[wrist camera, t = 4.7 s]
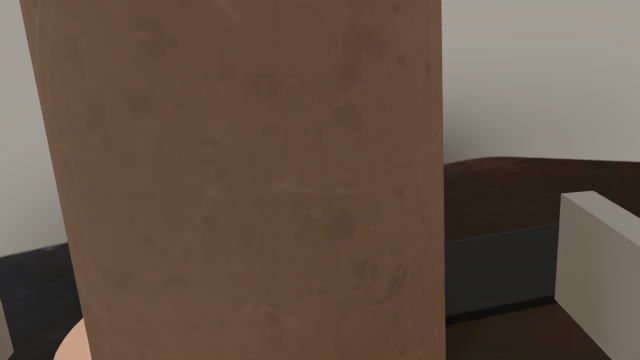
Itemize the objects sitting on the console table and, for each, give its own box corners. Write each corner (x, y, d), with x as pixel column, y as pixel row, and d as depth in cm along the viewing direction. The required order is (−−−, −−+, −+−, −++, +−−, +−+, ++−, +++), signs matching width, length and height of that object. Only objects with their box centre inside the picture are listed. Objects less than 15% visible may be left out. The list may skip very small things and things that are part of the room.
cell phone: (380, 265, 39) (379, 252, 39) (609, 225, 43) (610, 213, 42) (436, 333, 31) (436, 317, 30) (714, 275, 34) (717, 261, 34)
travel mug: (507, 660, 15) (546, -223, 9) (256, 940, 11) (26, -365, 5) (330, 482, 21) (284, -123, 15) (123, 618, 17) (-54, -149, 11)
